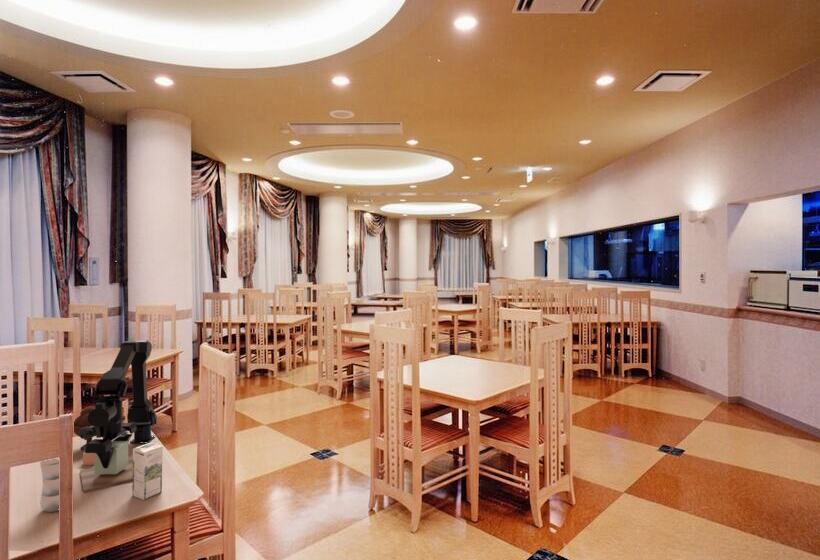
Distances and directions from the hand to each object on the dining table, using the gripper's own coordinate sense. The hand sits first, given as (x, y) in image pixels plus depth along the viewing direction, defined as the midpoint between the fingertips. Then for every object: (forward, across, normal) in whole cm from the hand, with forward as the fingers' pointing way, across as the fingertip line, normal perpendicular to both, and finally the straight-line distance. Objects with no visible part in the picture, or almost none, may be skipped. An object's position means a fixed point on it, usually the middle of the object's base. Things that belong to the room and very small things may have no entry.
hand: (112, 463), depth 149 cm
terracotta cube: (+4, -10, -12) cm, 16 cm away
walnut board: (+4, 0, 0) cm, 4 cm away
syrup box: (+4, +12, +17) cm, 21 cm away
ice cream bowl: (+4, -22, -20) cm, 30 cm away
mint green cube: (+2, 0, 0) cm, 2 cm away
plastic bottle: (+4, +20, -4) cm, 21 cm away
